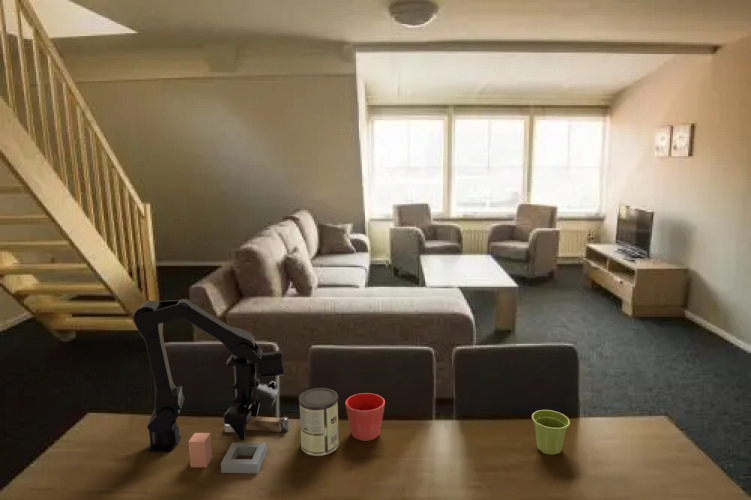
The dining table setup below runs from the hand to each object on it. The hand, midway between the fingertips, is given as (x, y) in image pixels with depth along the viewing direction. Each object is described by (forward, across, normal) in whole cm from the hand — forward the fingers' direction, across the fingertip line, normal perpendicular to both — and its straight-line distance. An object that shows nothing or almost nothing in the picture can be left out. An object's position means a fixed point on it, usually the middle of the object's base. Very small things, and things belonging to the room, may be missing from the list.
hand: (248, 430), depth 136 cm
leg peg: (+1, -14, +8) cm, 16 cm away
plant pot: (+1, 0, -82) cm, 82 cm away
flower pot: (+1, +3, -32) cm, 33 cm away
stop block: (+1, +2, +6) cm, 6 cm away
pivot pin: (+1, +3, -10) cm, 10 cm away
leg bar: (+1, +3, -3) cm, 4 cm away
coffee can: (+1, -3, -21) cm, 21 cm away
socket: (+1, -12, -4) cm, 13 cm away
